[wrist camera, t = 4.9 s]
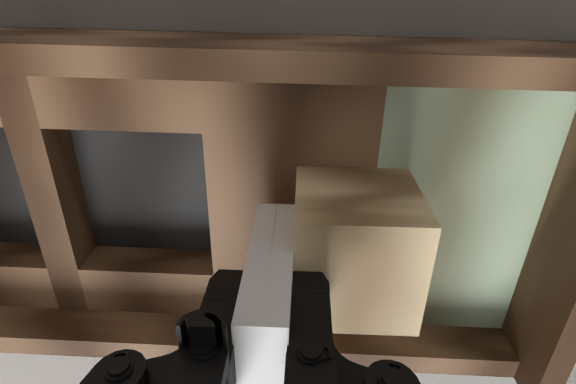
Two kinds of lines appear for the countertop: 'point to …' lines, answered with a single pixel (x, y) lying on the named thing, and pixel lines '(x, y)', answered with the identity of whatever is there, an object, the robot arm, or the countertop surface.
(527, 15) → the countertop surface
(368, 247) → the maple block
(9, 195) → the track
